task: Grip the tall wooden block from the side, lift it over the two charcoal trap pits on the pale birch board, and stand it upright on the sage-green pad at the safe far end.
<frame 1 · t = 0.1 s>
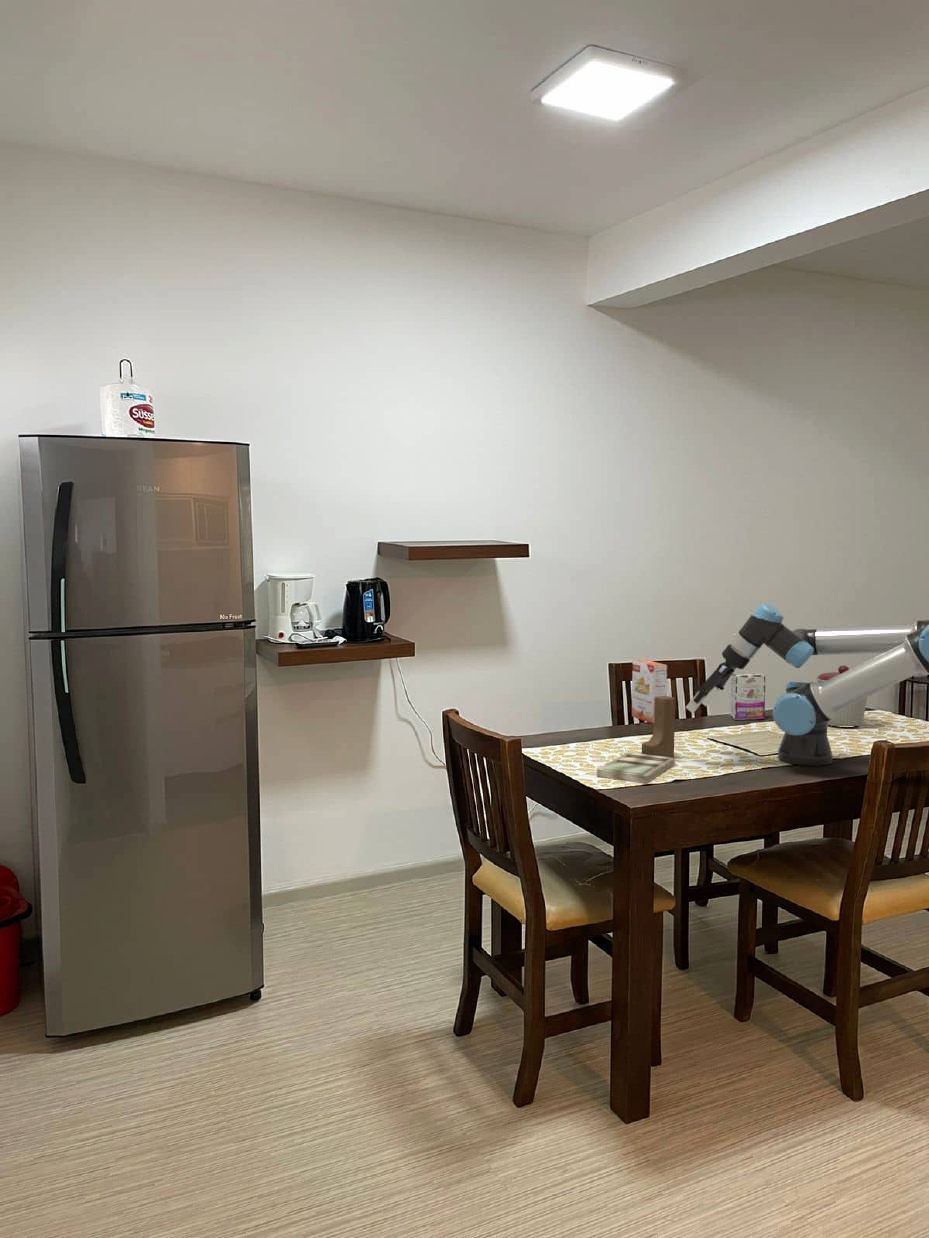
hand: (696, 706, 279), 15 cm above the table, tool tilted 35°, fingers open, 13 cm apart
cracker box: (648, 720, 338), on the table
wooden block: (657, 758, 279), on the table
canister: (841, 726, 330), on the table
candy bar box: (747, 719, 340), on the table
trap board: (636, 770, 264), on the table
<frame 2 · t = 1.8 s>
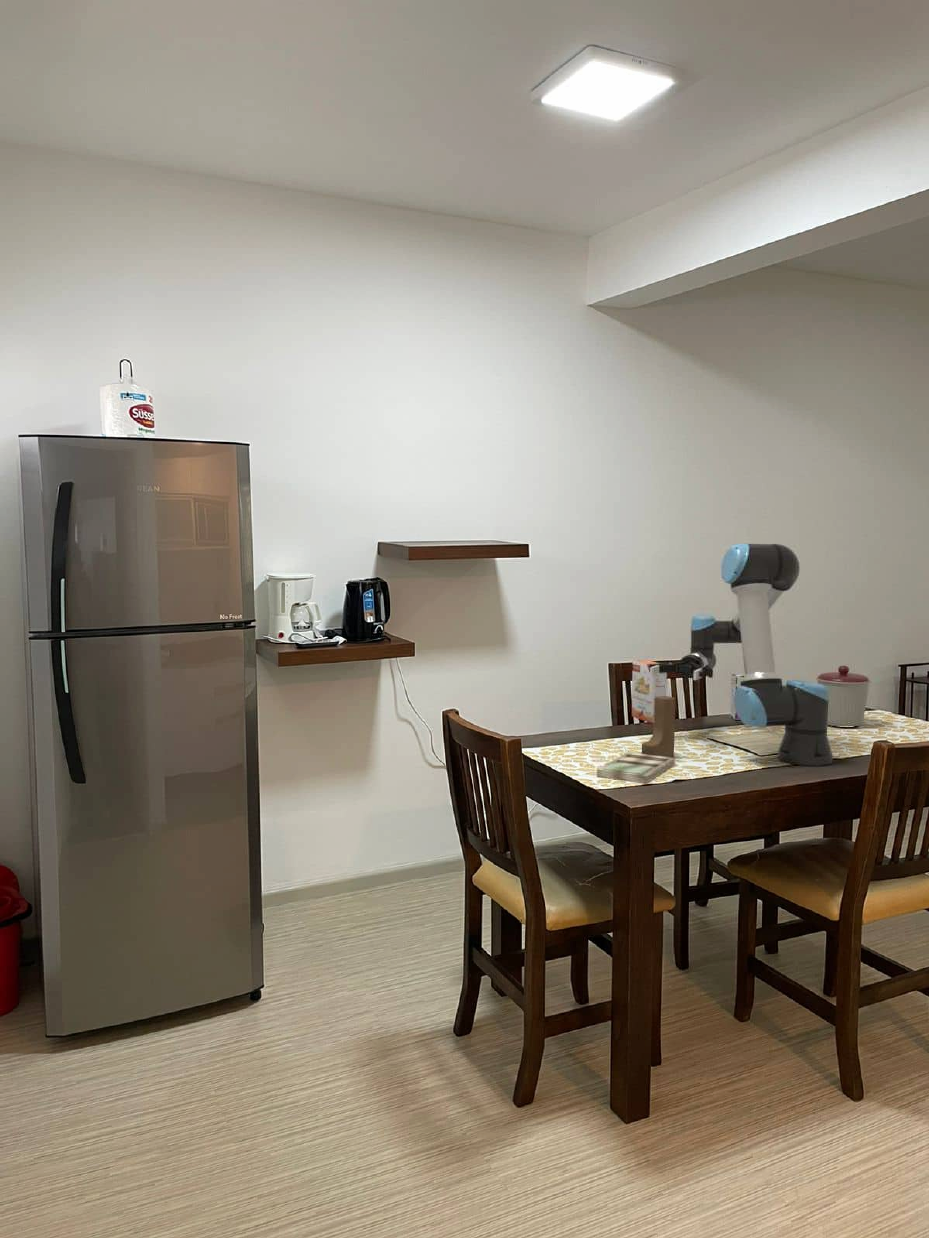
hand: (672, 673, 288), 23 cm above the table, tool horizontal, fingers open, 13 cm apart
nothing on the table moved.
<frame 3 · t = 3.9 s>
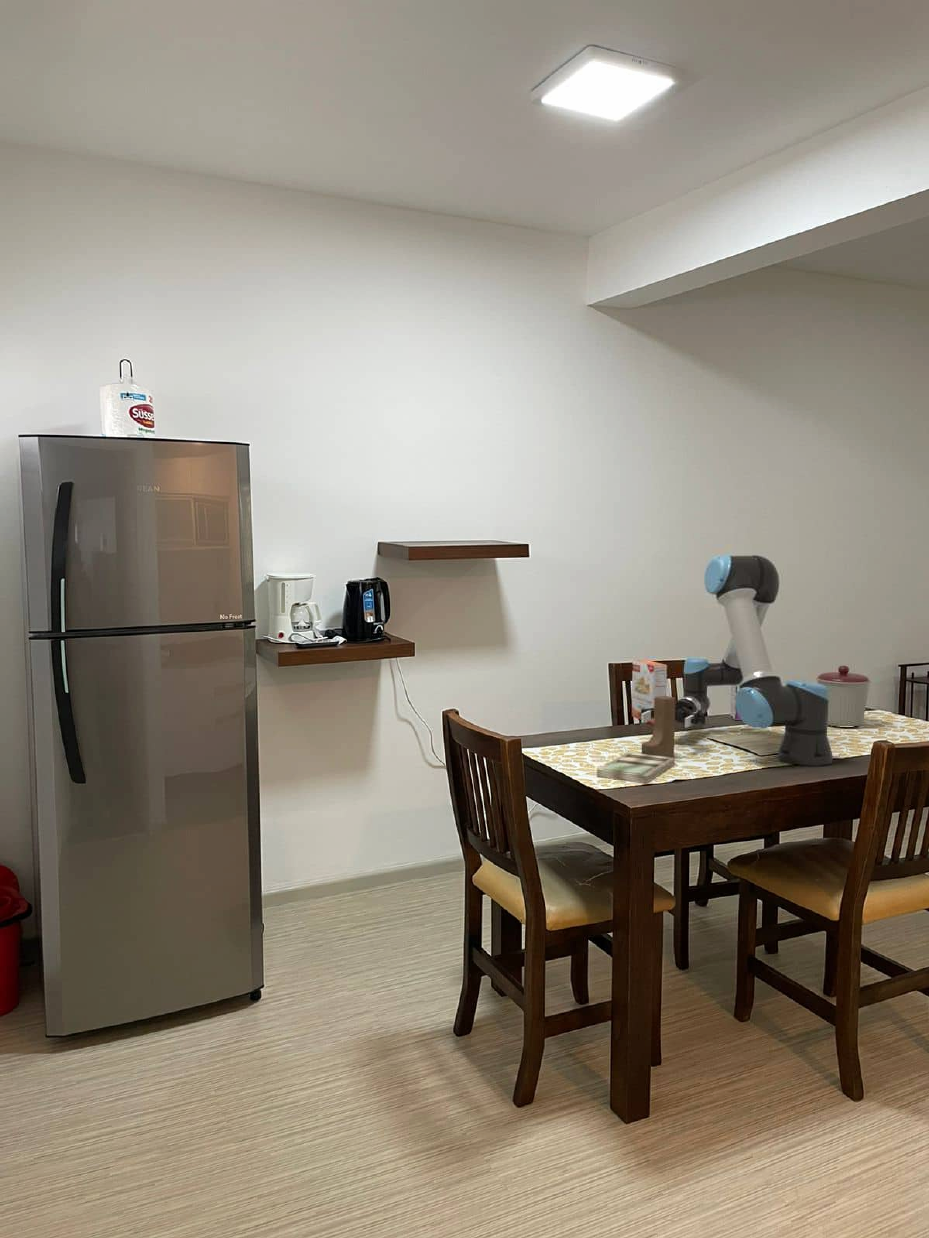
hand: (664, 720, 285), 10 cm above the table, tool horizontal, fingers open, 13 cm apart
nothing on the table moved.
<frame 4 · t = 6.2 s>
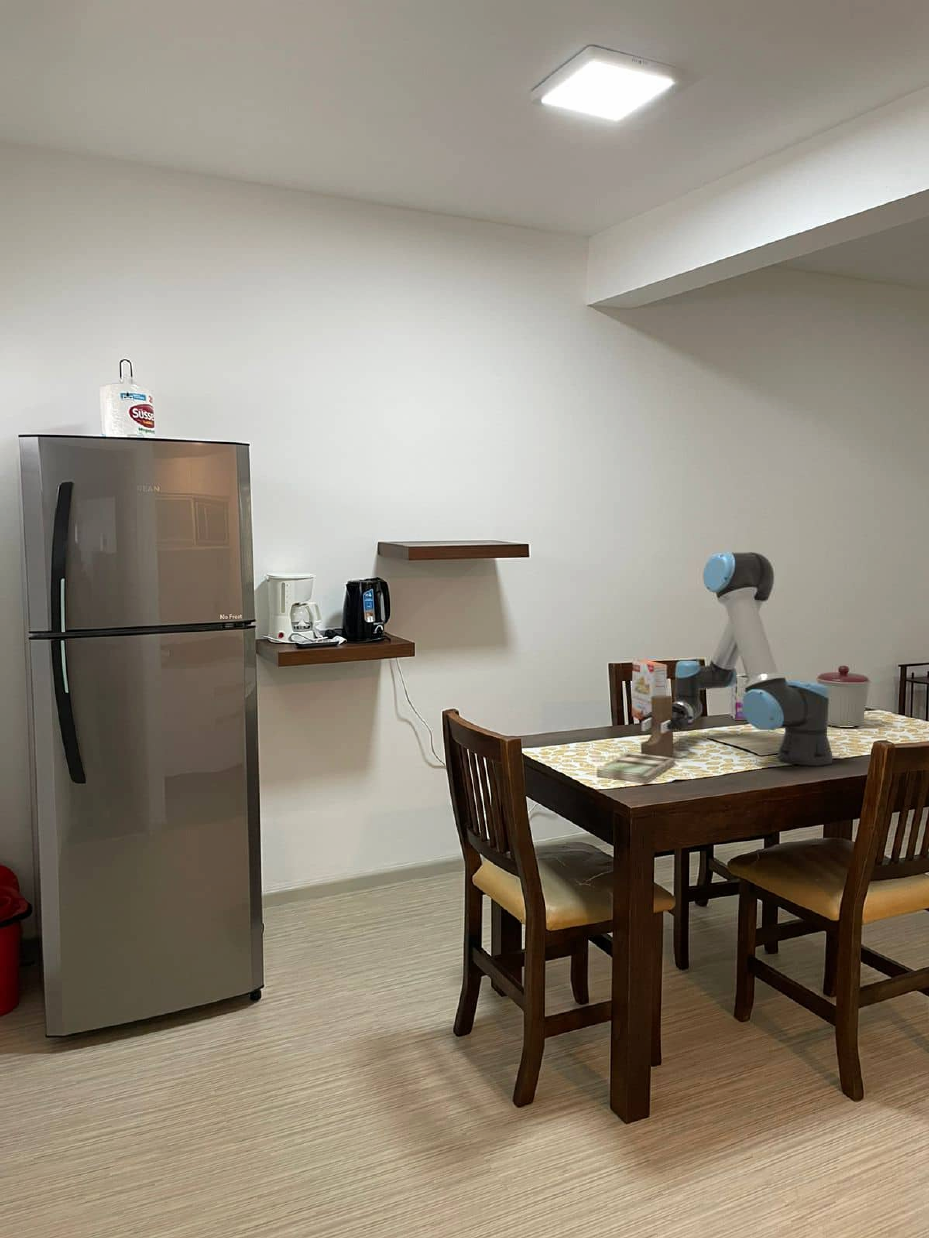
hand: (652, 727, 274), 10 cm above the table, tool horizontal, fingers closed on wooden block, 5 cm apart
wooden block: (657, 757, 279), on the table, touching gripper
everything else where it was.
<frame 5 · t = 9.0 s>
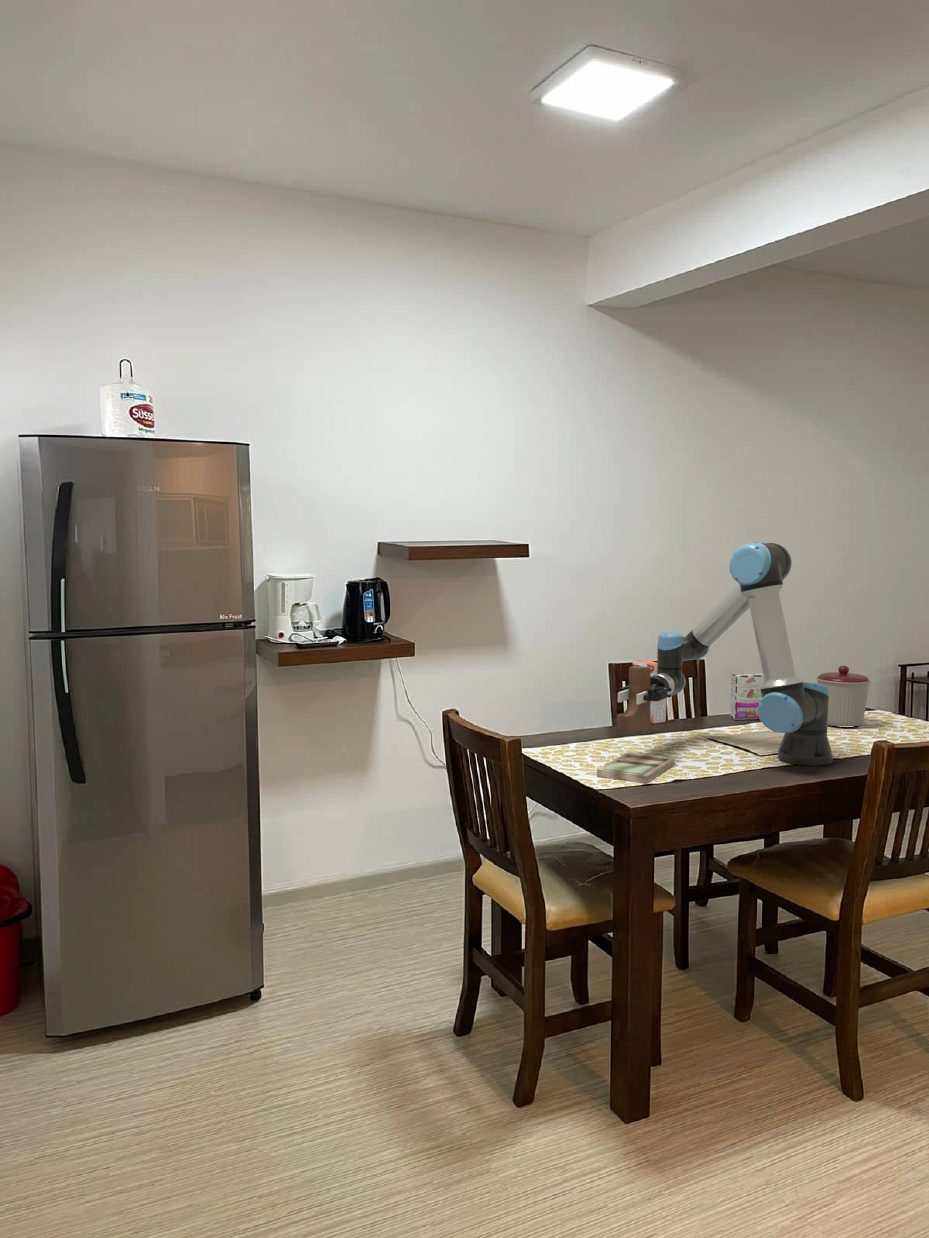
hand: (628, 698, 264), 20 cm above the table, tool horizontal, fingers closed on wooden block, 5 cm apart
wooden block: (633, 730, 270), point 10 cm above the table, touching gripper
everything else where it was.
when the fingers open (13 cm above the table, at t = 11.4 s): wooden block drops 1 cm, resting on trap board.
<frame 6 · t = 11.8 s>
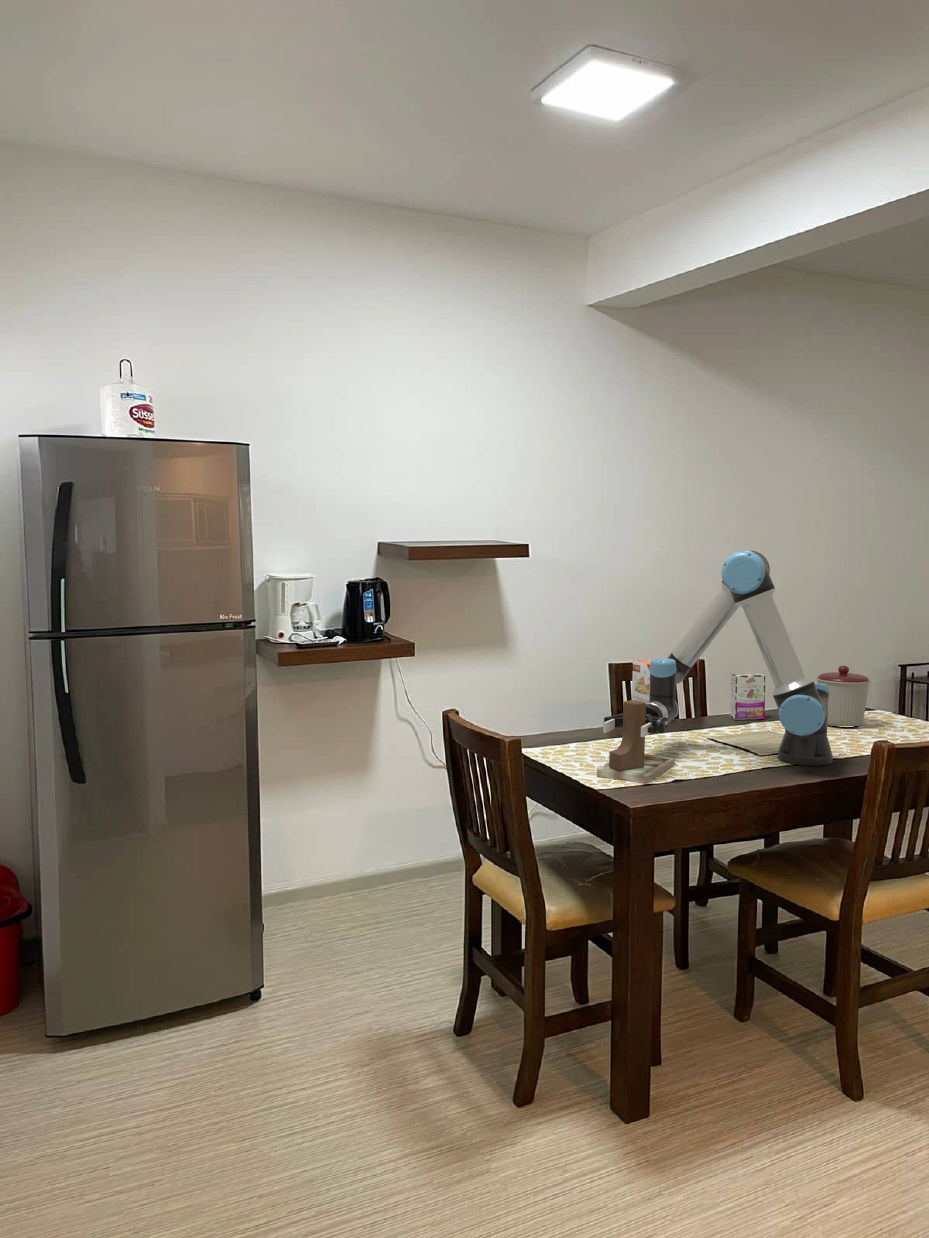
hand: (623, 729, 253), 13 cm above the table, tool horizontal, fingers open, 10 cm apart
wooden block: (626, 768, 258), point 2 cm above the table, touching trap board
everything else where it was.
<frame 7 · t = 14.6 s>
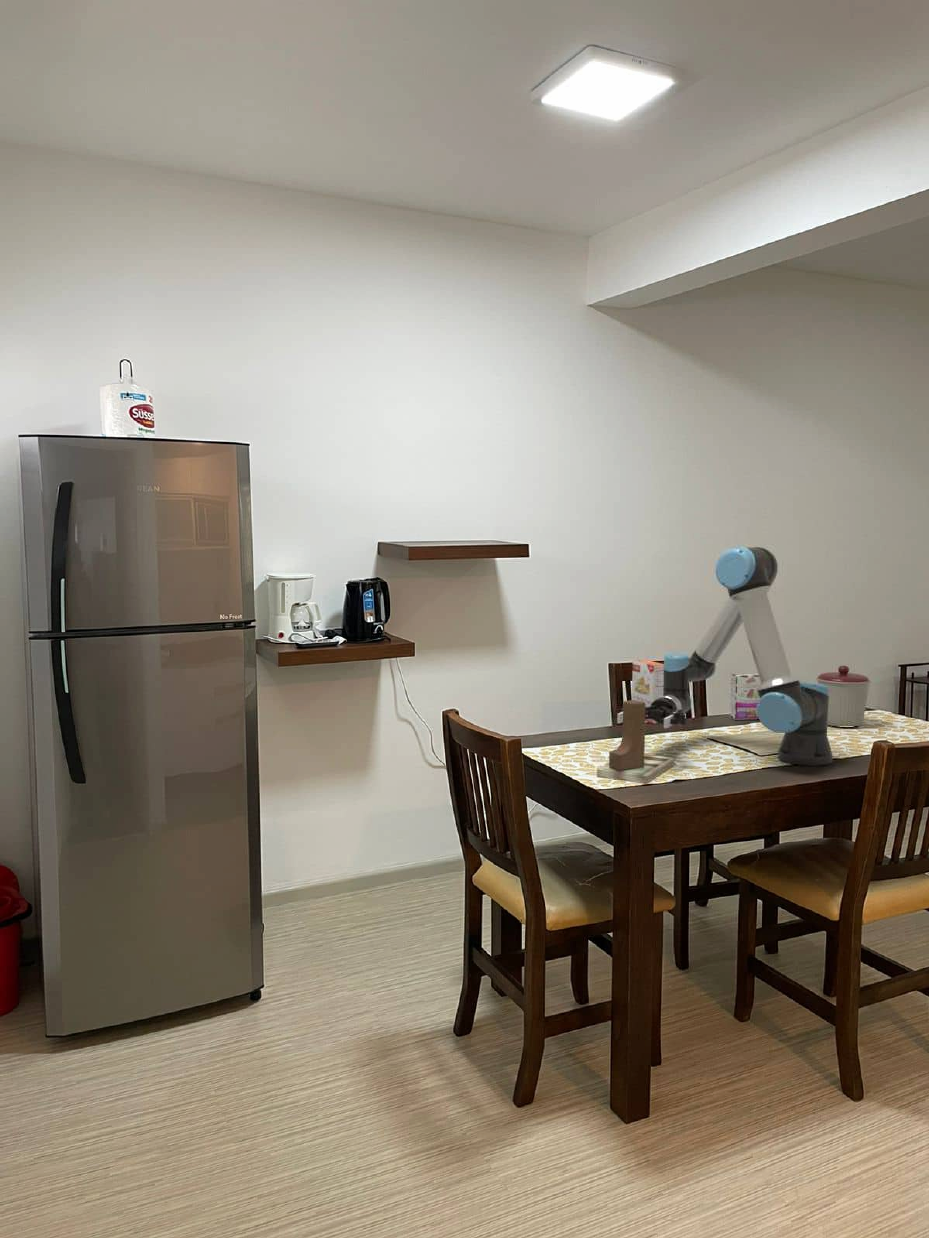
hand: (641, 721, 265), 14 cm above the table, tool horizontal, fingers open, 13 cm apart
nothing on the table moved.
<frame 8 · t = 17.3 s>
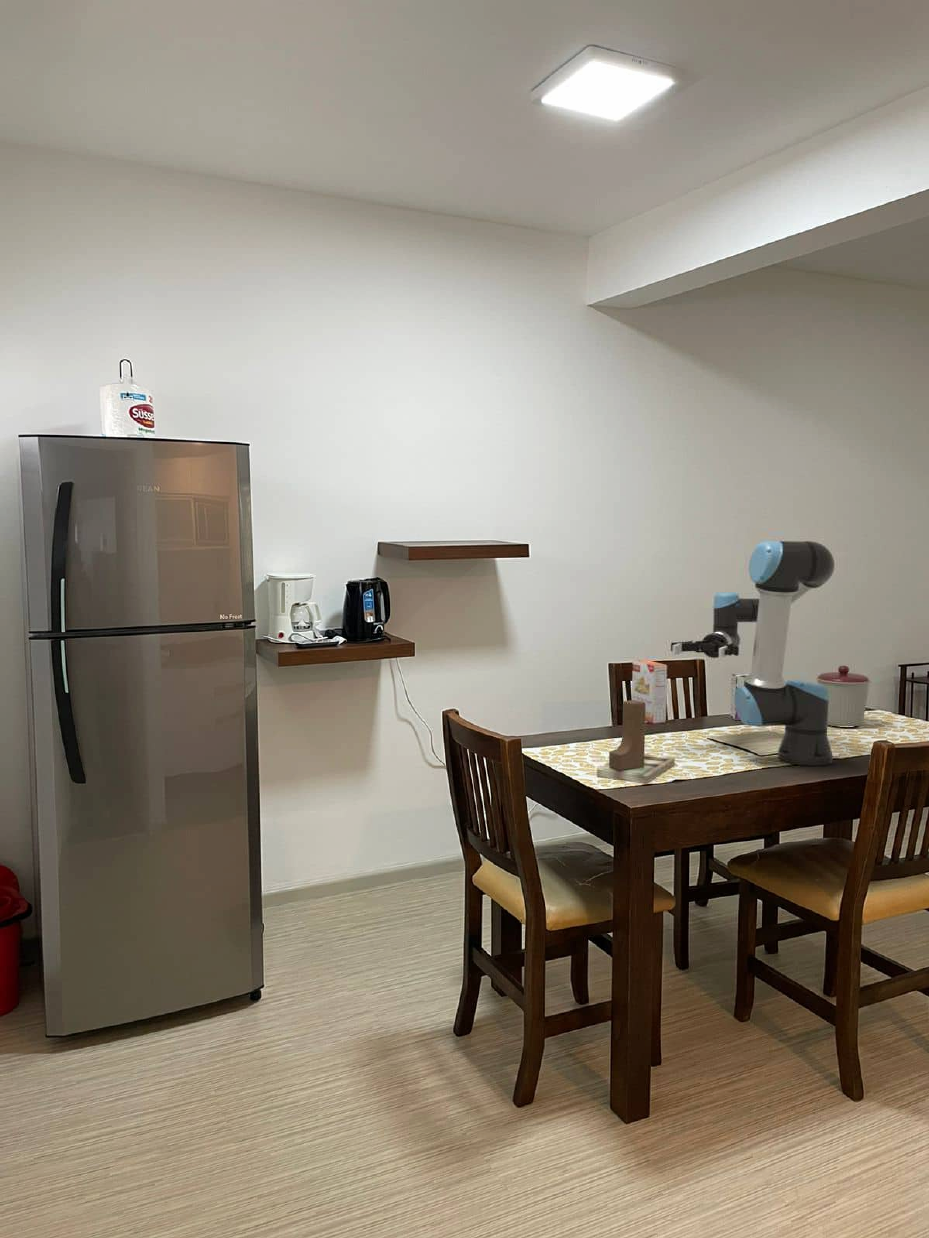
hand: (696, 651, 274), 32 cm above the table, tool horizontal, fingers open, 13 cm apart
nothing on the table moved.
at the end: wooden block inside the target area on the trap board (0.5 cm from its centre), point 2.1 cm above the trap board's base; wooden block tilted 0°; the gripper is holding nothing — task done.
